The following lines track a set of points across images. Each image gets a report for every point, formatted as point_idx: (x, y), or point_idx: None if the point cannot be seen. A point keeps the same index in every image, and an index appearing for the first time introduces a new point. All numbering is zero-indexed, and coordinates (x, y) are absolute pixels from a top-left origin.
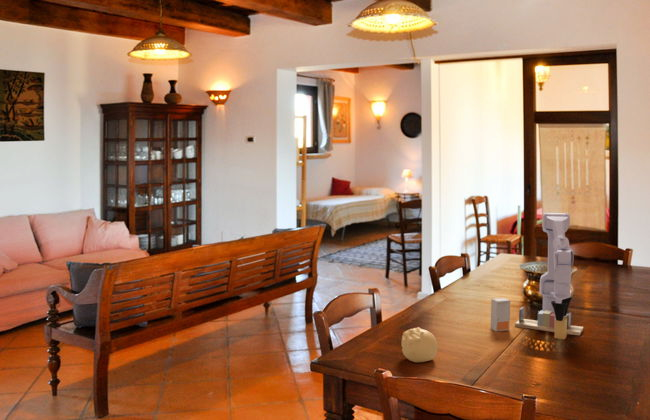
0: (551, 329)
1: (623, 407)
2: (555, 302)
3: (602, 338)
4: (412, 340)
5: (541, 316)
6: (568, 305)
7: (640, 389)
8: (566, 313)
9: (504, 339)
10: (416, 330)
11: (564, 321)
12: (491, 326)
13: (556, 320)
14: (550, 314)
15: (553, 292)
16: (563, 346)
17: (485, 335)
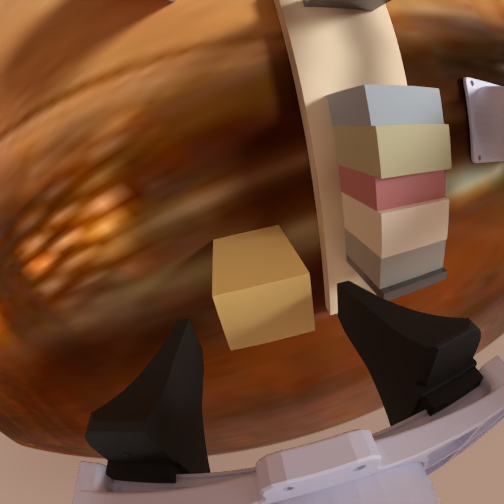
0: (316, 184)
1: (7, 432)
2: (80, 465)
3: (333, 365)
4: None
5: (359, 114)
6: (376, 382)
7: (65, 452)
8: (345, 332)
9: (28, 82)
10: None
11: (229, 345)
12: None
13: (176, 323)
14: (398, 173)
15: (361, 473)
16: (127, 317)
17: (39, 3)
